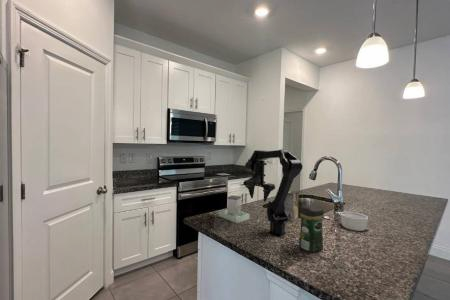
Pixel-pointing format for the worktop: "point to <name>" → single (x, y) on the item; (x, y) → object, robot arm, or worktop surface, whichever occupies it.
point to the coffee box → (292, 205)
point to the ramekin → (354, 221)
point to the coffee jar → (311, 228)
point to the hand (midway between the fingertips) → (258, 199)
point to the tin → (234, 206)
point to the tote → (231, 218)
